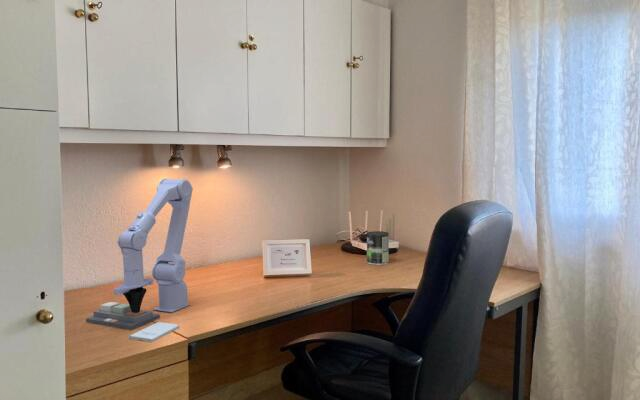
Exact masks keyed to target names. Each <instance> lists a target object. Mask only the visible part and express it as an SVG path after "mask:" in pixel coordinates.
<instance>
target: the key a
mask: <svg viewBox="0 0 640 400" xmlns="http://www.w3.org/2000/svg"><path fill="white" fill-rule="evenodd" d="M117 305H120V302H115V301H109V302H105V303H103V304H100V308H99V309H101V311H102V312H109V313H110V312H113V307H114V306H117Z"/></svg>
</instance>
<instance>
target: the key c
mask: <svg viewBox="0 0 640 400" xmlns="http://www.w3.org/2000/svg"><path fill="white" fill-rule="evenodd" d="M145 311H146V310H145ZM145 311H143V309H140V312H138V313H133V312H132V311H130V312H128V313H126V315H128V316H134V317H137V316H139V315H142V314H144V313H146V312H145Z"/></svg>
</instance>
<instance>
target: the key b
mask: <svg viewBox="0 0 640 400" xmlns="http://www.w3.org/2000/svg"><path fill="white" fill-rule="evenodd" d="M130 311H131V308H130V305H129V303H121V304H120V303H119V305H117V306H114V307H113V313H115V314H121V315H123V314H126V313H128V312H130Z"/></svg>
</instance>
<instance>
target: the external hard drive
mask: <svg viewBox="0 0 640 400" xmlns="http://www.w3.org/2000/svg"><path fill="white" fill-rule="evenodd" d="M178 329H180V325H179V324H176V323H169V322H161V321H159V322H158V321H157V322H155V323H154V324H151V325H149V326H146V327H145V328H142V329H141V330H139V331H136V332H134V333H132V334H130V335H129V336H128V340H134V341H142V342H149V343H153V342H155V341H157V340H159V339H161V338H162V337H165V336H166V335H168V334H170V333H172V332H174V331H176V330H178Z"/></svg>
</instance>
